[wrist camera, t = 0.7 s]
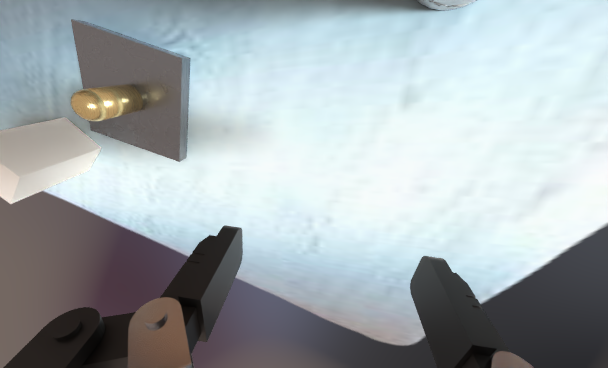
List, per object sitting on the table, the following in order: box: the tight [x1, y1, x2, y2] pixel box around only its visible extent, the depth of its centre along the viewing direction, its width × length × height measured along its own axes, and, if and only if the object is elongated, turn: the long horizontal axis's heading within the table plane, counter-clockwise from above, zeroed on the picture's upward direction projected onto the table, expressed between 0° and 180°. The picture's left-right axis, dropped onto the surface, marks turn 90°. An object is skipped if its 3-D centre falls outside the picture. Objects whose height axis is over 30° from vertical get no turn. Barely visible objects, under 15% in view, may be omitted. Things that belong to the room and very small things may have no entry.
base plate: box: [71, 20, 190, 162], centre depth 27 cm, size 13×13×8 cm
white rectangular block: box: [0, 117, 102, 204], centre depth 31 cm, size 6×6×10 cm
